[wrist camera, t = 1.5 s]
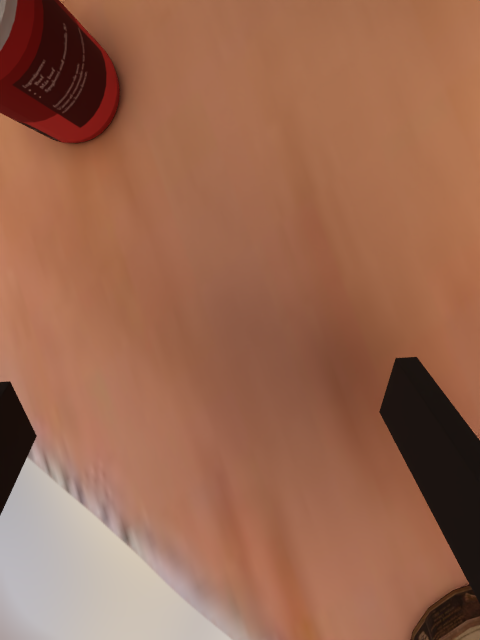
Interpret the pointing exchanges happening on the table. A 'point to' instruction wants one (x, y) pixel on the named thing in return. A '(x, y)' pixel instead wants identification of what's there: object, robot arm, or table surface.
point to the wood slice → (451, 618)
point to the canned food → (54, 72)
